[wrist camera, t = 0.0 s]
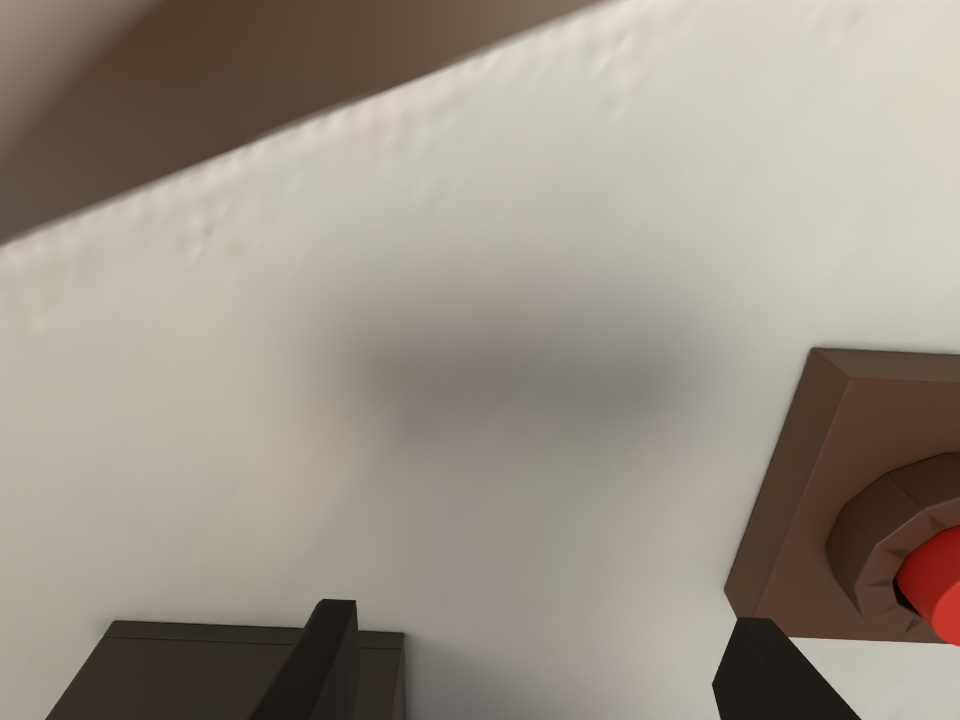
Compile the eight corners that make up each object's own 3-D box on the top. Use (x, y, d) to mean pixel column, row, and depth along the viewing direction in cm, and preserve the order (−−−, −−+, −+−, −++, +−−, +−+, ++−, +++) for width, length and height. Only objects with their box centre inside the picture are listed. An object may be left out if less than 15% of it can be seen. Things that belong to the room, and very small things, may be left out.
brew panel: (945, 600, 24) (1025, 690, 21) (723, 591, 24) (764, 679, 20) (1098, 361, 19) (1242, 426, 15) (811, 347, 19) (888, 409, 15)
